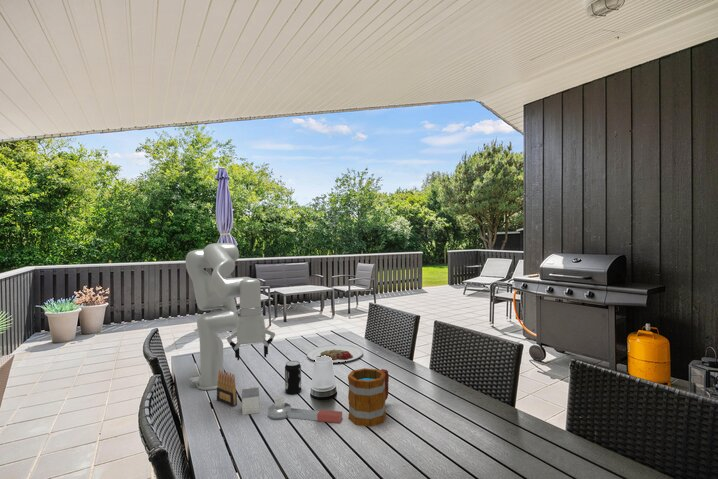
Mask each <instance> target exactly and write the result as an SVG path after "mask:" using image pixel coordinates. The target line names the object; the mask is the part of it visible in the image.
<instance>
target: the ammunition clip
mask: <svg viewBox="0 0 718 479" xmlns="http://www.w3.org/2000/svg"><path fill="white" fill-rule="evenodd" d="M235 380H236V379H235V375H234V374H233V373H229V372H226V371H224V373H223V371H222V372H221V371H220V370H219V372H218V387H217V389H216V401H218V402H221V403H223V404H224V405H228V406H230V407H235V406H237V405H238V399H237V397H238V396H237V395H238V394H237V391H236V388H237V387H236V386H237V385H236V381H235Z"/></svg>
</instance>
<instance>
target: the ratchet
mask: <svg viewBox="0 0 718 479" xmlns="http://www.w3.org/2000/svg"><path fill="white" fill-rule="evenodd" d="M267 410H268V412H267V417H268V418H269V419H270V420H272V421H279V420H280V421H281V420H282V421H283V420H285V419H288V418H290V419H296V420H297V419H298V420H299V419H300V420H307V421H309V420H310V421H317V422H322V423H335V424H340V423H341V422H342V419H343V411H342V410H341V411H339V410H329V409H320V410H313V409H304V408H303V409H301V408H293V407H292V405H291V404H289V403H287V402H285V397H284V396H276V397H275V398H274V403H273V404H271V405H270V406H269V407H268V409H267Z"/></svg>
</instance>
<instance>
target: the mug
mask: <svg viewBox="0 0 718 479" xmlns="http://www.w3.org/2000/svg"><path fill="white" fill-rule="evenodd" d="M389 378H390V375H389V370H387V369H383V368H382V369H377V368H376V369H375V368H360V369H354V370H351V371H350V373H348V375H347V380H348V394H347V395H348V396H347V397H348V420H349V421H350V422H352V424H354V425H355V426H361V427H369V428H370V427H374V426H376V425H380V424H384V422H385V419H386V417H387V411H386V401H387V400H388V396H389V382H390V380H389Z"/></svg>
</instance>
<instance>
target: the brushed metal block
mask: <svg viewBox="0 0 718 479" xmlns="http://www.w3.org/2000/svg"><path fill="white" fill-rule="evenodd" d="M259 388H260V387H251V388H243V389H241V407H242V408H241V412H242V414H241V416H245V415H251V414H259V413H260V389H259Z"/></svg>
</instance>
